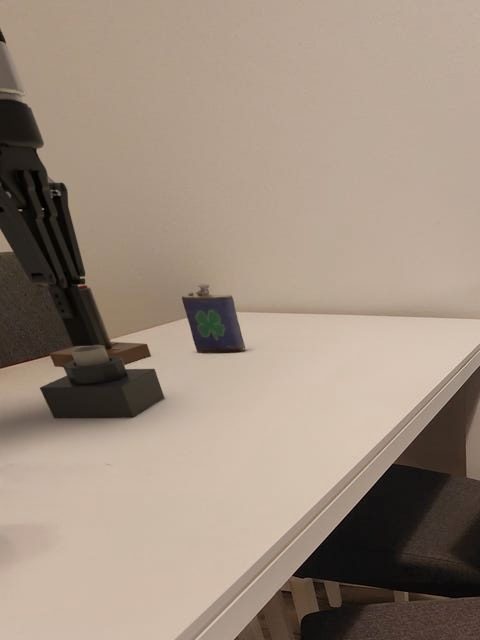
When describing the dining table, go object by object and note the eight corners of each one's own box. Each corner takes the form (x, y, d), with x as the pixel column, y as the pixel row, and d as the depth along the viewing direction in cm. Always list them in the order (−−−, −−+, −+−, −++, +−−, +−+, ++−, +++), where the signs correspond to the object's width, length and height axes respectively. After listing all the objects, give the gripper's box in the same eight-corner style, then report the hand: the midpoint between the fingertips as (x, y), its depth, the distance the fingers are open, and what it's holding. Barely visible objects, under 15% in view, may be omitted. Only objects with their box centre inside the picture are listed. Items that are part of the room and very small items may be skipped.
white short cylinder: (70, 369, 77) (63, 352, 75) (88, 361, 80) (81, 345, 78) (100, 368, 76) (93, 351, 75) (116, 361, 80) (110, 344, 78)
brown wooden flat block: (54, 365, 102) (48, 352, 101) (99, 352, 109) (94, 339, 108) (108, 369, 99) (103, 355, 98) (151, 355, 106) (146, 342, 105)
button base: (53, 419, 78) (31, 371, 75) (91, 399, 85) (73, 354, 82) (133, 418, 78) (114, 369, 74) (164, 398, 85) (149, 353, 81)
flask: (247, 349, 109) (231, 282, 102) (241, 352, 106) (224, 284, 100) (200, 349, 110) (180, 283, 103) (193, 353, 107) (172, 285, 101)
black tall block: (98, 351, 101) (74, 289, 95) (79, 350, 102) (53, 288, 96) (118, 345, 104) (95, 285, 98) (98, 344, 105) (75, 284, 99)
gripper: (-4, 107, 67) (87, 334, 82) (-97, 94, 57) (26, 357, 72) (58, 104, 67) (139, 333, 81) (-23, 91, 57) (85, 356, 71)
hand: (86, 344), depth 76 cm, fingers closed
